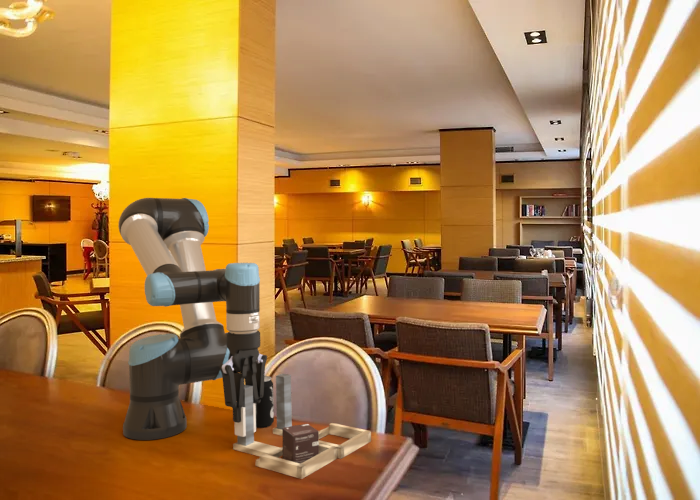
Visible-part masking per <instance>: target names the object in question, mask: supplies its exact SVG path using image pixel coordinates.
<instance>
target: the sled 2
mask: <svg viewBox="0 0 700 500" xmlns="http://www.w3.org/2000/svg"><path fill="white" fill-rule="evenodd" d="M275 393H276V396H275V399H276V400H275V401H276V402H275V403H276V404H275V405H276V409H275V410H276V426H275V427H273V428H272V434H273V435H278V436H281V437H283V436H282V432H283V431H282V428H285V427H290V426H293V421H292V420H293V419H292V418H293V417H292V412H293V411H292V375H291V374H288V373H281V374H280V373H279V374H278V375H277V374H276V375H275ZM318 431H319V432H318V436H319V443H321V444H325V445H329V446H333V447H337V459H343V458H345V457H346V456H348V455H350V454H352V453H354V452H355V451H357V450H358V449H360V448H362V447H364V446H366V445H367V444H369V443H371V441H372V431H371V430H367V429H364V428H363V429H362V428H360V427H359V428H358V427H354V426H348V425H344V424H340V423H334V422H331V423H329V425H328V426H327V427H324V428H323V429H320V430H318ZM328 435H332V436H337V437H341V438H345V439H348V440H346V441H344V442H342V443H341V444H336V443H332V442H329V441H328V442H327V441H324V440H320V439H322V438H324V437H326V436H328Z"/></svg>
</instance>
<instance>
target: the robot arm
mask: <svg viewBox="0 0 700 500" xmlns="http://www.w3.org/2000/svg"><path fill="white" fill-rule="evenodd" d="M117 226H118V231H119V234H120V236H121V237H122V240H123V241H124V242H125V243H126V244H128V245H130V247H131V248H132V251H133V252H134V254H135V256H136V257H137V260H138V261H139V263H140V265H141V267H142V269H143V271H144V273H145V274H146V277H145V280H144V294H145V299H146V302H147V304H148V305H150V306H152V307H171V306H179V308H180V311H181V312H180V313H181V317H182V324H183V329H181V332H180V333H179V337H178V335H177V334H175V333H163V334H161V333H160V334H156V335H150V336H147V337H143V338H140V339H138V340H136V341H134V342H133V343H131V345H130V347H129V350H128V363H127V364H128V365H129V366H128V367H129V368H128V369H129V371H128V374H129V405H128V408H127V412H126V415H125V418H124V422H123V425H122V431H123V432H122V434H123V436H124V437H125V438H127V439H131V440H136V441H137V440H138V441H150V440H159V439H166V438H169V437H174V436H177V435H178V434H180V433H182V432H183V431H185V430H186V429H187V427H188V425H187V424H188V423H187V422H188V421H187V416H186V414H185V409H184V407H183V405H182V402H181V399H180V395H179V393H180V389H179V388H180V386H181V385H186V384H188V385H189V384H194V383H201V382H206V381H216V380H218V379H222V387H223V396H224V397H223V398H224V405H225V406H226V407H230V408H231V409H232V421H233V422H234V436H237V435H238V436H242V437H244V436H246V418H245V407H242V406H243V392H244V385H250V386H253V421H254V433H255V432H257V428H256V415H257V403H260V401H261V399H259V398H262V397H263V395H264V376H266V375H265V374H266V373H265V372H266V363H267V360H268V356H267V355H266V354H261V353H260V351H259V348H260V347H261V332H260V330H259V329H260V328H261V320H260V319H261V318H260V317H261V314H260V313H261V311H260V309H261V307H260V306H261V305H260V295H261V294H260V287H261V286H260V282H261V277H260V271H259V270H260V269H259V265H258V264H257V263H255V262H233V263H232V262H231V263H228V264H227V265H226V266H225V268H216V269H213V270H206V265H205V264H206V263H205V260H204V255H203V251H202V250H203V249H202V247H201V245H202V244H203V243H204V241H205V237H207V235H208V233H209V229H210V228H209V227H210V225H209V215H208V212H207V209H206V207H205V206H204V204H203V203H202V202H201V201H200V200H198V199H193V198H187V197H181V198H168V197H167V198H165V197H144V198H139V199H136V200H135V201H133V202H131V203H130V204H128V205H127V206H126V207H125V208H124V210H123V211H122V213H121V214H120V217H119V219H118V225H117ZM216 302H225V304H226V305H225V308H226V309H225V311H226V313H225V314H226V330H227V331H228V332H226V331H225V328H224V327H225V326H224V324H222V323H221V322H220V321H218V320H217V317H216V312H215V308H214V304H213V303H216ZM258 391H259V392H258Z"/></svg>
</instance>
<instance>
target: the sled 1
mask: <svg viewBox="0 0 700 500" xmlns="http://www.w3.org/2000/svg"><path fill="white" fill-rule="evenodd" d="M242 407H245V418H246V436H244V437H242V436H238V435H236V436H237V437H236V438H237V440H236V442H235V443H232V447H233V448H232V450H235V451H238V452H241V453H246V454H248V455H249V454H250V455H254V456H256V457H259V458H257V459H255V467H259V468H262V469H266V470H269V471H274V472H276V473H280V474H283V475H286V476H290V477H294V478H296V479H301V480H303V479H304V478H305V477H308V476H309V475H312V474H313V473H315V472H317V471H318V470H320V469H322V468H323V467H325V466H326V465H329V464H330V463H331V462H333V461H335V460H337V459H338V458H337V447H333V446H329V445H325V444H321V443H319V454H318V455H316V456H314V457H312V458H310V459H308V460H307V461H305V462H303V463H301V464H299V463H296V462H292V461H288V460H285V459H283V458H281V457H283V446H282V447H279V446H275V445H273V444H272V445H271V444H267V443H264V442H260V441H256V440H255V432H254V421H253V386H250V385H245V384H244V392H243V406H242Z"/></svg>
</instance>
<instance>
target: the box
mask: <svg viewBox="0 0 700 500" xmlns="http://www.w3.org/2000/svg"><path fill="white" fill-rule="evenodd" d="M282 431H283V432H282V436H281V437H282V447H283V456H282V459H285V460H288V461H292V462H296V463H299V464H301V463H303V462H305V461H307V460H308V459H310V458H312V457H314V456H316V455H318V454H319V440H320V439H319V436H318V432H319V431H320V430H318V429H316V428H315V427H313V426H312V425H310V424H309V423H304V424H297V425H296V424H294V425H292V426H290V427H285V428H282Z"/></svg>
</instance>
